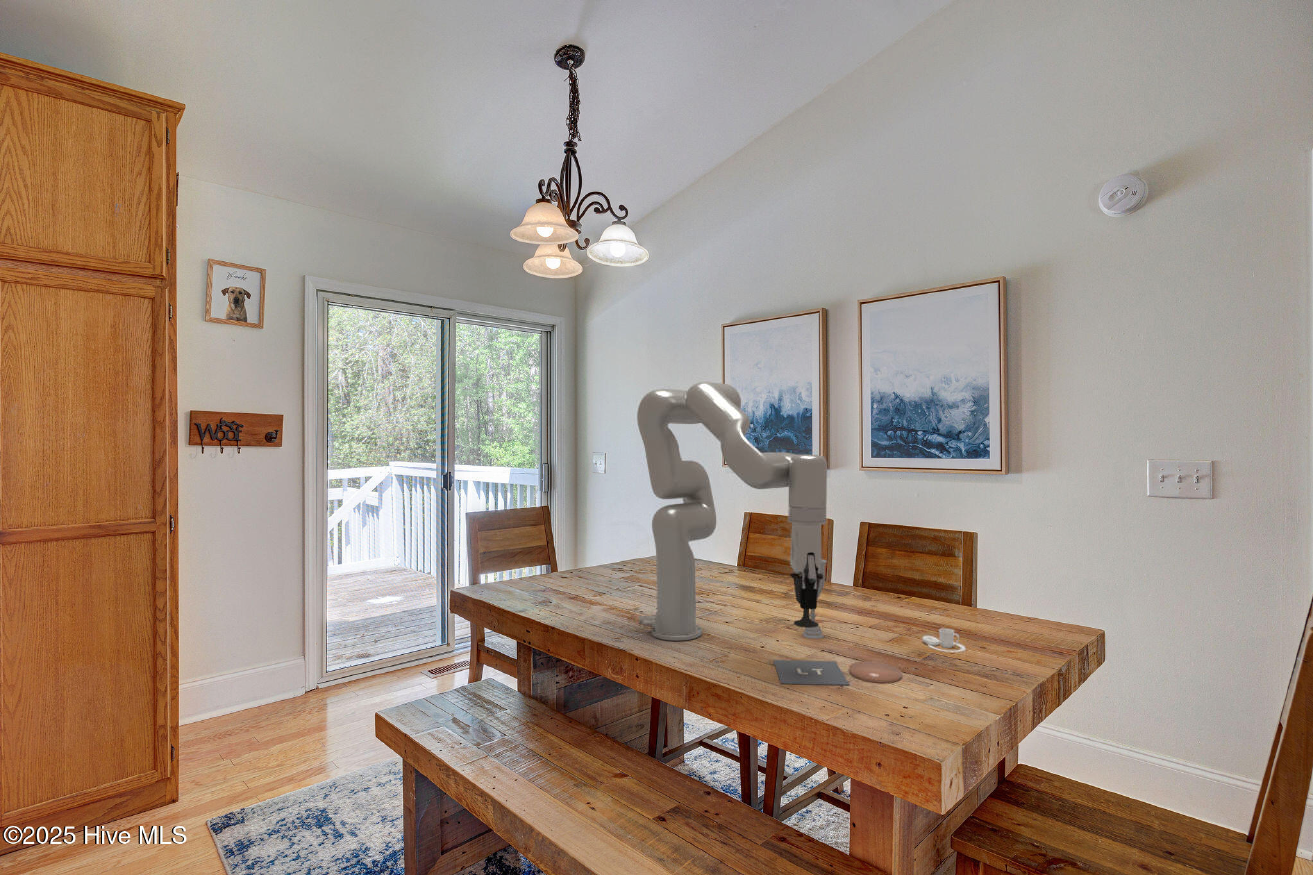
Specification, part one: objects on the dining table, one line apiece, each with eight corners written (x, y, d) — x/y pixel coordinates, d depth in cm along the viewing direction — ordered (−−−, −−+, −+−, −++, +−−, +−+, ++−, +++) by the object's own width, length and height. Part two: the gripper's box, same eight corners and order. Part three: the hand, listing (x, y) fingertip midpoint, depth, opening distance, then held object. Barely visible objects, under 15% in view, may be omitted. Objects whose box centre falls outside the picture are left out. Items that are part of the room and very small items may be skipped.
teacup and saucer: (917, 644, 147) (916, 626, 147) (942, 640, 150) (942, 622, 150) (947, 656, 139) (947, 637, 139) (974, 651, 142) (973, 632, 142)
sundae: (785, 619, 132) (785, 547, 132) (816, 619, 133) (817, 547, 133) (794, 629, 126) (795, 553, 126) (827, 628, 126) (828, 553, 126)
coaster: (855, 682, 123) (855, 678, 123) (844, 664, 133) (844, 660, 133) (908, 683, 122) (908, 679, 122) (892, 665, 132) (892, 661, 132)
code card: (780, 684, 123) (780, 682, 123) (773, 660, 135) (773, 659, 135) (849, 685, 122) (849, 684, 122) (835, 662, 135) (835, 660, 135)
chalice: (828, 640, 149) (827, 564, 149) (798, 639, 150) (798, 563, 150) (826, 631, 156) (825, 558, 156) (798, 630, 157) (797, 557, 158)
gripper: (783, 509, 138) (782, 593, 138) (794, 520, 121) (793, 616, 121) (818, 510, 137) (817, 594, 137) (834, 521, 120) (833, 617, 120)
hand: (806, 603), depth 129 cm, fingers closed on sundae, 4 cm apart
